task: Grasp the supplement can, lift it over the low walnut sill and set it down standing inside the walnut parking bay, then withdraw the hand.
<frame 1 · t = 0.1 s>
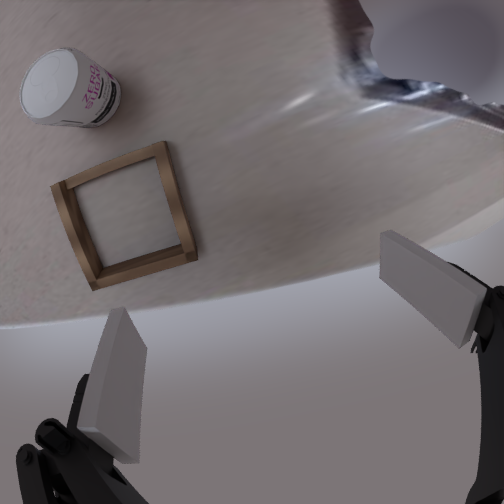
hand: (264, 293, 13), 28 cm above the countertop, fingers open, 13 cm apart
supplement can: (96, 100, 29), on the countertop
dock bay: (129, 222, 37), on the countertop
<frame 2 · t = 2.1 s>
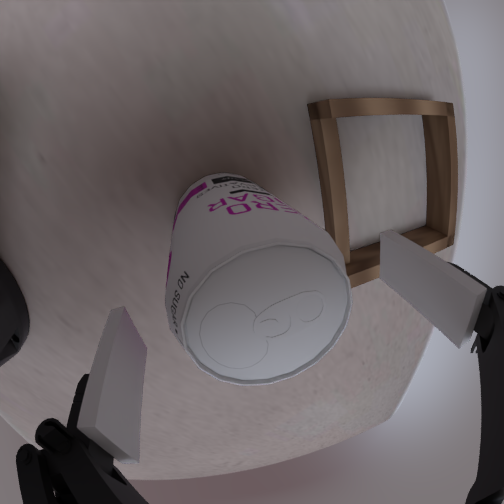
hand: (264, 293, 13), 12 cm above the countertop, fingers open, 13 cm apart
supplement can: (222, 218, 24), on the countertop
dock bay: (395, 177, 26), on the countertop
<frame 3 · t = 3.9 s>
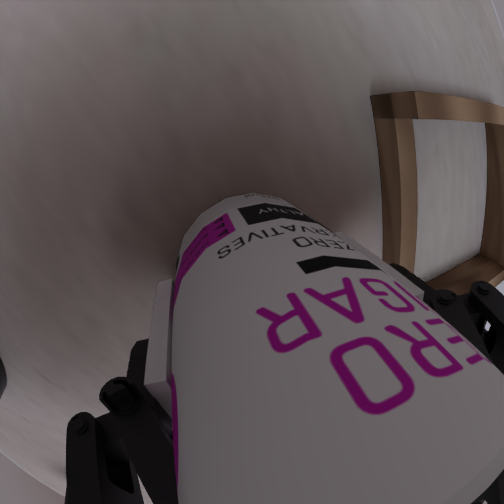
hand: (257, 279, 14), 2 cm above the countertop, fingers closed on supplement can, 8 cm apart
supplement can: (248, 259, 16), on the countertop, touching gripper
dock bay: (459, 199, 18), on the countertop
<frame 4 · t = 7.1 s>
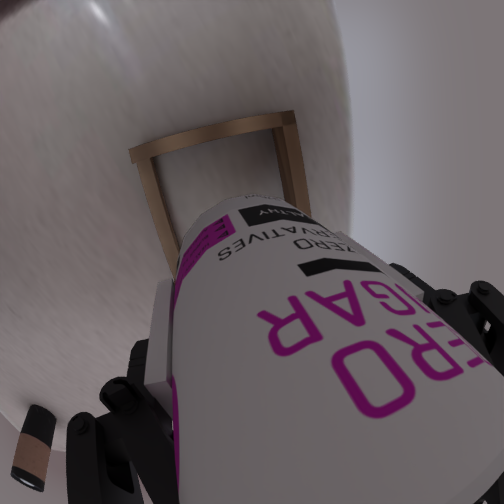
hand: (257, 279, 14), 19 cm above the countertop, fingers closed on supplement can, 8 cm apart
travel mug: (43, 413, 39), on the countertop
supplement can: (248, 260, 16), point 16 cm above the countertop, touching gripper
dock bay: (236, 197, 31), on the countertop
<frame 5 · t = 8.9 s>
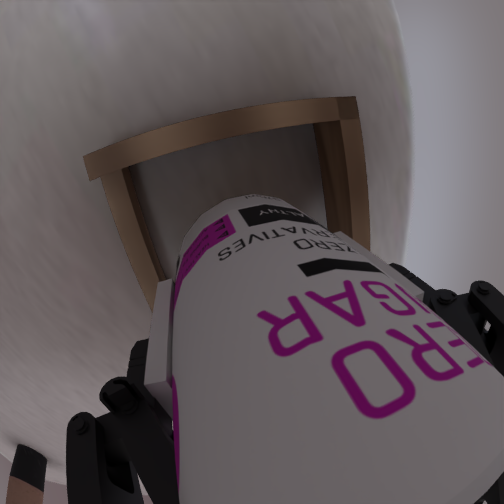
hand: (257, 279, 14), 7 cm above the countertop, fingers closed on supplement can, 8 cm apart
travel mug: (32, 452, 28), on the countertop
supplement can: (248, 260, 16), point 5 cm above the countertop, touching gripper
dock bay: (260, 227, 21), on the countertop
when the fingers open (4 cm above the countertop, at t = 10.4 s): supplement can drops 2 cm, resting in dock bay.
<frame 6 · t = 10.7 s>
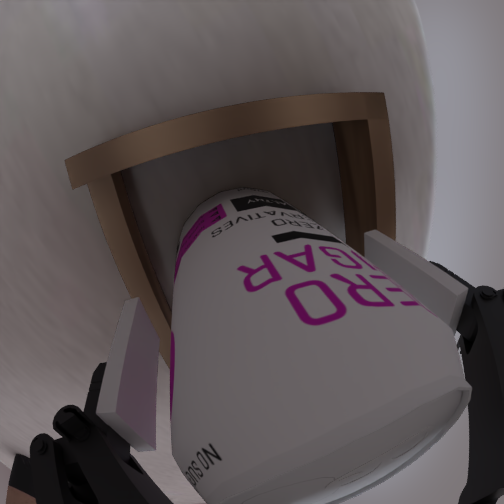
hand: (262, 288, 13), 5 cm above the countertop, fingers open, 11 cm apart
travel mug: (30, 462, 26), on the countertop
supplement can: (241, 247, 18), resting in dock bay
dock bay: (271, 240, 18), on the countertop
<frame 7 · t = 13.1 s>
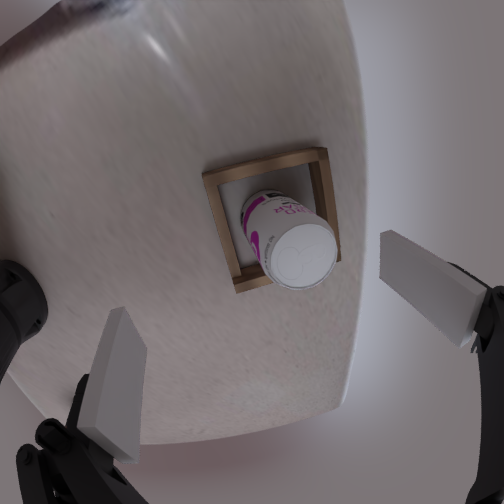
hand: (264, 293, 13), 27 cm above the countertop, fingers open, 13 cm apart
supplement can: (267, 216, 40), resting in dock bay
dock bay: (281, 212, 40), on the countertop
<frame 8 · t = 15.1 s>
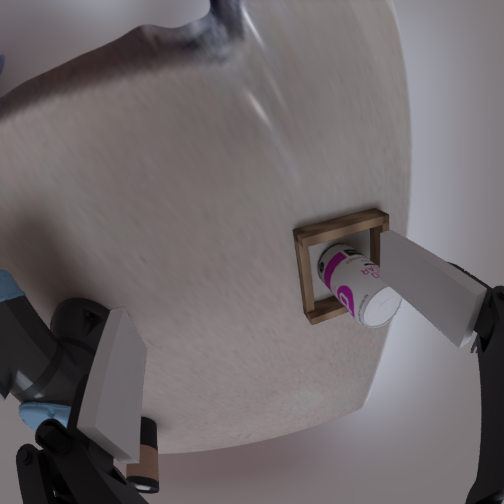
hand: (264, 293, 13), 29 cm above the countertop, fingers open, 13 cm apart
travel mug: (143, 423, 56), on the countertop
supplement can: (336, 263, 48), resting in dock bay
dock bay: (346, 260, 48), on the countertop
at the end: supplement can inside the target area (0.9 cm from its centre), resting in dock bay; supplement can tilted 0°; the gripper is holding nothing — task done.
